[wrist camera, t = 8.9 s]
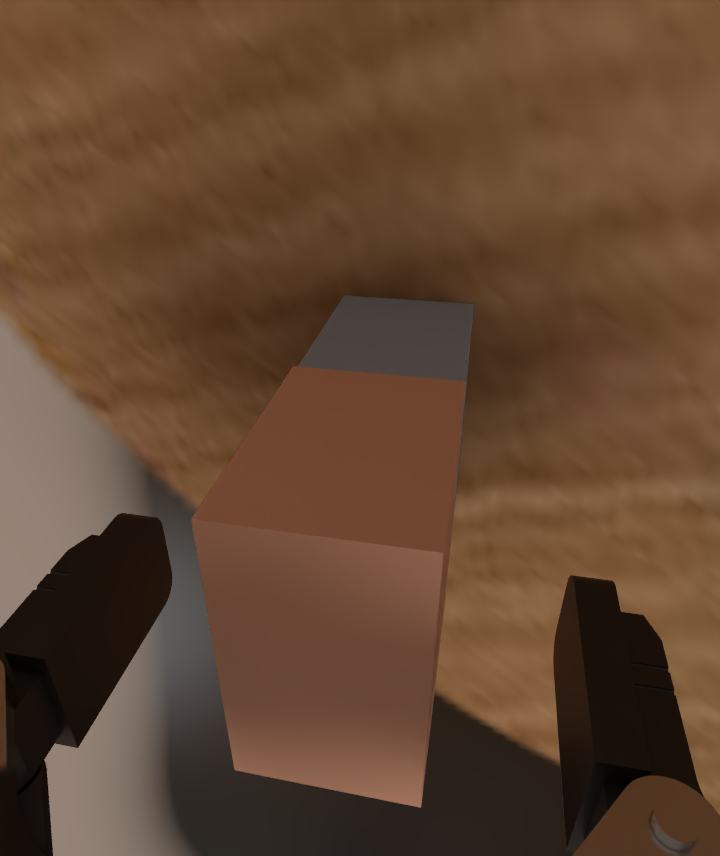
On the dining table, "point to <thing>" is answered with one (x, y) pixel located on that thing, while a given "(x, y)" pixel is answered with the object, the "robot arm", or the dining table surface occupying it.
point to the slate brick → (396, 339)
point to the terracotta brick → (334, 578)
